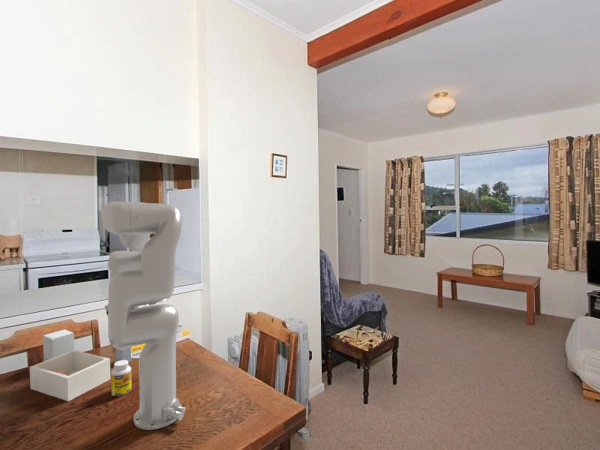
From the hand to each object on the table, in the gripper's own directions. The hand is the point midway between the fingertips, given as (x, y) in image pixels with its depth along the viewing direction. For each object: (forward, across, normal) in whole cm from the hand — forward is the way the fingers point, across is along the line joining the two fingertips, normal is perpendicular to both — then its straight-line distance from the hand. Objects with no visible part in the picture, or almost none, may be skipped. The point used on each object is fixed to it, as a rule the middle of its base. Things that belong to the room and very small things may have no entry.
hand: (123, 330), depth 124 cm
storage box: (+13, +3, +17) cm, 22 cm away
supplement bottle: (+14, -16, +14) cm, 26 cm away
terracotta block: (+12, +7, +19) cm, 24 cm away
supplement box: (+13, +20, +10) cm, 26 cm away
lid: (+14, +1, -1) cm, 14 cm away
